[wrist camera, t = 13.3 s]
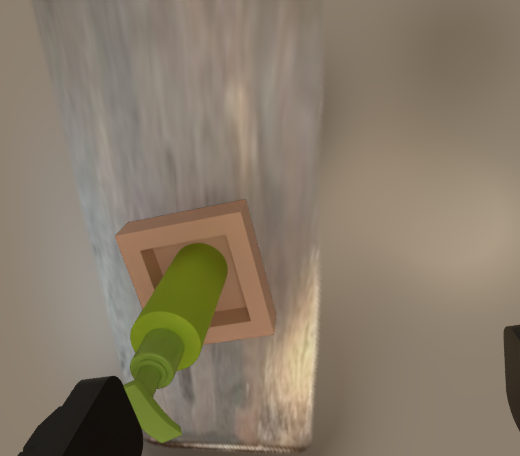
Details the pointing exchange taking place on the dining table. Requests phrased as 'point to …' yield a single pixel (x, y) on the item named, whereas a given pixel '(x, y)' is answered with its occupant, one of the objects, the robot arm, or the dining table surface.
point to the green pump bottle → (173, 331)
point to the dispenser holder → (227, 243)
